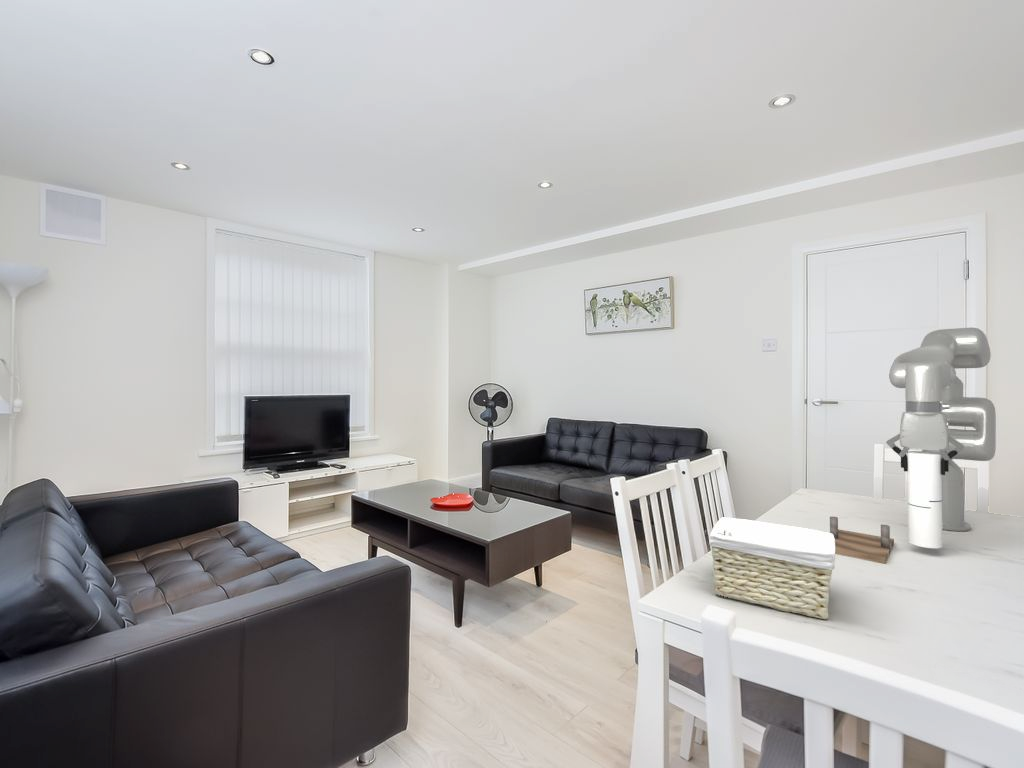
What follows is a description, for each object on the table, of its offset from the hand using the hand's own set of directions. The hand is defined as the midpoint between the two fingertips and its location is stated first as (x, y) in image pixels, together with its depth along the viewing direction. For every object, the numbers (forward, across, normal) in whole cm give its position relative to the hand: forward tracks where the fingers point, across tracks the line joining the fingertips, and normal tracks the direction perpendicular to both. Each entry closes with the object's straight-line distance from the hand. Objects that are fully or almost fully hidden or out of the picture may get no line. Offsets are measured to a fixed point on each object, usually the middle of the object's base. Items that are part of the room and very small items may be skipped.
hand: (924, 471), depth 130 cm
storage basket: (+22, +23, +56) cm, 64 cm away
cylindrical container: (+20, 0, 0) cm, 20 cm away
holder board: (+22, +14, +6) cm, 27 cm away
